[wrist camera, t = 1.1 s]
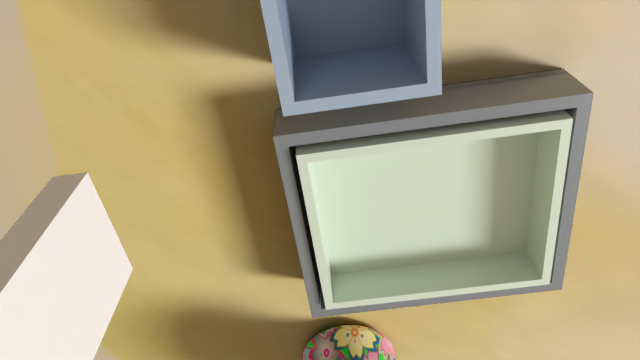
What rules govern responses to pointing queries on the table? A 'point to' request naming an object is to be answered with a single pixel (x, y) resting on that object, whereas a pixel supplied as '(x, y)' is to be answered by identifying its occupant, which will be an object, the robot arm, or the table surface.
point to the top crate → (436, 208)
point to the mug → (349, 345)
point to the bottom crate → (427, 112)
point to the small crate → (353, 51)
